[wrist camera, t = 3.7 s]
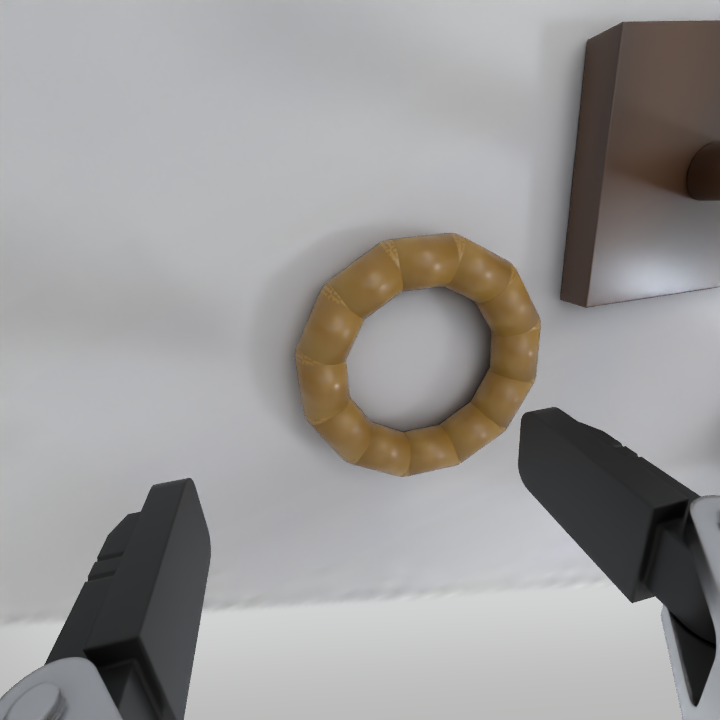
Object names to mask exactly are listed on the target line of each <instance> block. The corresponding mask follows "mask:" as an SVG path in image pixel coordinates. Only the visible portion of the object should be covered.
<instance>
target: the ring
mask: <svg viewBox="0 0 720 720" xmlns="http://www.w3.org/2000/svg"><path fill="white" fill-rule="evenodd" d="M439 286H444V287H446V288H448V289H450V290H452V291H454V292H457V293H459V294H461V295H463V296H465V297H467V298H469V299H471V300H473V301H475V302H476V304H477V306H478V308H479V309H480V311H481V313H482V315H483V316H484V318H485V320H486V322H487V324H488V325H489V327H490V329H491V355H490V368H489V370H488V372H487V373H486V375H485V377H484V379H483V381H482V382H481V384H480V386H479V388H478V389H477V391H476V393H475V395H474V397H473V398H472V400H471V402H469V403H468V404H467V405H465V406H464V407H463V408H461V409H460V410H458V411H457V412H456V413H454V414H453V415H452V416H450V417H449V418H448V419H446V420H445V421H443V422H442V423H441V424H439V425H436V426H431V427H425V428H420V429H415V430H410V431H405V432H401V431H398V430H395V429H391V428H388V427H385V426H382V425H379V424H375V423H372V422H370V421H369V419H368V418H367V417H366V416H365V415H364V413H363V412H362V411H361V410H360V409H359V407H358V406H357V405H356V404H355V403H354V401H353V400H352V399H351V398H350V395H349V386H348V376H347V366H346V358H347V356H348V354H349V352H350V350H351V347H352V345H353V343H354V341H355V339H356V337H357V334H358V332H359V330H360V328H361V326H362V324H363V321H364V320H365V319H366V318H367V317H368V316H370V315H371V314H372V313H374V312H375V311H376V310H378V309H379V308H380V307H382V306H383V305H384V304H386V303H387V302H388V301H390V300H391V299H392V298H394V297H395V296H396V295H398V294H399V293H400V292H402V291H410V290H417V289H425V288H432V287H439ZM540 327H541V321H540V317H539V315H538V313H537V311H536V309H535V306H534V304H533V302H532V300H531V298H530V296H529V294H528V292H527V290H526V288H525V286H524V284H523V282H522V280H521V278H520V276H519V274H518V272H517V270H516V268H515V267H514V266H513V265H512V264H511V263H510V262H509V261H507V260H505V259H503V258H502V257H500V256H498V255H496V254H494V253H492V252H490V251H489V250H487V249H485V248H483V247H481V246H479V245H477V244H476V243H474V242H472V241H470V240H468V239H466V238H464V237H462V236H460V235H458V234H454V233H444V234H435V235H426V236H417V237H408V238H399V239H390V240H385V241H382V242H380V243H379V244H377V245H376V246H374V247H373V248H372V249H370V250H369V251H368V252H366V253H365V254H364V255H362V256H361V257H360V258H359V259H357V260H356V261H355V262H353V263H352V264H351V265H349V266H348V267H347V268H345V269H344V270H343V271H341V272H340V273H339V274H337V275H336V276H335V277H334V278H332V279H331V280H330V281H328V282H327V283H326V284H325V285H324V286H323V287H322V289H321V291H320V293H319V295H318V298H317V300H316V303H315V305H314V307H313V310H312V312H311V314H310V317H309V319H308V321H307V324H306V326H305V328H304V331H303V333H302V336H301V338H300V340H299V343H298V345H297V348H296V352H295V360H296V367H297V373H298V380H299V386H300V393H301V399H302V405H303V411H304V415H305V417H306V419H307V421H308V422H309V423H310V424H311V425H312V427H313V428H314V429H315V430H316V431H317V432H318V433H319V434H320V435H321V436H322V437H323V438H324V439H325V441H326V442H327V443H328V444H329V445H330V446H331V447H332V448H333V449H334V450H335V451H336V452H337V453H338V455H339V456H340V457H341V458H342V459H343V460H345V461H346V462H348V463H350V464H354V465H357V466H361V467H365V468H369V469H372V470H376V471H380V472H384V473H387V474H391V475H395V476H400V477H405V476H411V475H415V474H420V473H424V472H429V471H433V470H438V469H443V468H447V467H452V466H456V465H458V464H460V463H462V462H463V461H465V460H466V459H467V458H469V457H470V456H471V455H473V454H474V453H476V452H477V451H478V450H480V449H481V448H482V447H484V446H485V445H487V444H488V443H489V442H491V441H492V440H493V439H495V438H496V437H498V436H499V435H500V434H502V433H503V432H504V431H505V430H506V429H507V427H508V426H509V424H510V422H511V421H512V419H513V417H514V416H515V414H516V412H517V411H518V409H519V407H520V406H521V404H522V402H523V400H524V399H525V397H526V395H527V394H528V392H529V390H530V389H531V387H532V385H533V384H534V382H535V379H536V372H537V361H538V350H539V338H540Z"/></svg>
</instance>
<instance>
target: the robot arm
mask: <svg viewBox="0 0 720 720" xmlns="http://www.w3.org/2000/svg"><path fill="white" fill-rule="evenodd" d="M518 469H519V473H520V476H521V479H522V481H523V483H524V485H525V487H526V488H527V489H528V490H529V491H530V493H531V494H532V495H533V496H534V497H535V498H536V499H537V500H538V501H539V502H540V503H541V505H542V506H543V507H544V508H545V509H546V510H547V511H548V512H549V513H550V514H551V515H552V517H553V518H554V519H555V520H556V521H557V522H558V523H559V524H560V525H561V526H562V527H563V529H564V530H565V531H566V532H567V533H568V534H569V535H570V536H571V537H572V538H573V539H574V541H575V542H576V543H577V544H578V545H579V546H580V547H581V548H582V549H583V550H584V551H585V553H586V554H587V555H588V556H589V557H590V558H591V559H592V560H593V561H594V562H595V563H596V565H597V566H598V567H599V568H600V569H601V570H602V571H603V572H604V573H605V574H606V575H607V577H608V578H609V579H610V580H611V581H612V582H613V583H614V584H615V585H616V586H617V587H618V589H619V590H621V592H622V593H623V594H624V595H625V596H626V597H627V598H628V599H629V601H630V602H632V603H634V602H637V601H641V600H644V599H647V598H651V597H654V596H656V597H657V598H658V599H659V600H660V601H661V602H662V603H663V608H662V612H661V619H662V624H663V629H664V634H665V638H666V643H667V647H668V652H669V657H670V662H671V666H672V671H673V675H674V680H675V685H676V690H677V694H678V699H679V704H680V708H681V713H682V719H683V720H720V496H716V495H711V496H703V497H701V496H699V495H698V494H696V493H695V492H693V491H692V490H690V489H689V488H687V487H686V486H684V485H683V484H681V483H680V482H678V481H677V480H675V479H674V478H672V477H671V476H669V475H668V474H666V473H665V472H663V471H662V470H660V469H659V468H657V467H656V466H654V465H653V464H651V463H650V462H648V461H647V460H645V459H644V458H642V457H638V456H637V454H636V453H635V452H633V451H632V450H630V449H629V448H627V447H626V446H624V447H623V446H622V444H621V443H620V442H618V441H617V440H615V439H614V438H612V437H611V436H609V435H608V434H606V433H605V432H603V431H601V430H599V429H596V428H593V427H591V426H588V425H586V424H583V423H581V422H578V421H576V420H575V419H573V418H572V417H570V416H569V415H568V414H566V413H565V412H563V411H562V410H560V409H559V408H556V407H551V408H546V409H541V410H536V411H531V412H526V413H525V414H524V415H523V416H522V419H521V428H520V443H519V458H518ZM210 557H211V545H210V536H209V531H208V528H207V524H206V521H205V518H204V514H203V511H202V508H201V504H200V501H199V498H198V494H197V491H196V487H195V484H194V482H193V480H192V479H191V478H186V479H181V480H176V481H171V482H166V483H161V484H156V485H153V486H152V487H151V489H150V491H149V494H148V496H147V499H146V501H145V503H144V506H143V508H142V510H141V512H137V513H132V514H128V515H127V516H126V517H125V518H124V519H123V520H122V521H121V522H120V523H119V524H118V526H117V527H116V528H115V529H114V530H113V531H112V532H111V533H110V534H109V535H108V537H107V539H106V541H105V543H104V545H103V547H102V549H101V551H100V553H99V555H98V557H97V559H98V560H97V562H95V563H94V565H93V567H92V569H91V571H90V573H89V575H88V582H85V584H84V586H83V588H82V590H81V592H80V594H79V596H78V598H77V600H76V602H75V604H74V606H73V608H72V610H71V612H70V614H69V616H68V618H67V620H66V622H65V624H64V626H63V628H62V630H61V633H60V635H59V637H58V638H57V641H56V643H55V645H54V647H53V649H52V651H51V653H50V655H49V657H48V659H47V661H46V663H45V665H44V666H43V667H41V668H39V669H37V670H35V671H34V672H32V673H31V674H29V675H27V676H26V677H24V678H23V679H22V680H21V681H19V682H18V683H17V684H15V685H14V686H13V687H12V688H11V689H10V690H9V691H8V692H6V693H5V694H4V695H3V696H2V697H1V698H0V720H184V714H185V708H186V702H187V696H188V690H189V683H190V677H191V672H192V666H193V660H194V654H195V648H196V642H197V637H198V630H199V625H200V618H201V613H202V607H203V601H204V595H205V589H206V583H207V577H208V571H209V565H210Z"/></svg>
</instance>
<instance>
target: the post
mask: <svg viewBox="0 0 720 720" xmlns="http://www.w3.org/2000/svg"><path fill="white" fill-rule="evenodd" d="M716 287H720V21H649V22H622V23H620V24H618V25H616V26H614V27H612V28H610V29H608V30H606V31H604V32H602V33H600V34H599V35H597V36H595V37H593V38H591V39H589V40H588V42H587V51H586V61H585V70H584V80H583V90H582V99H581V109H580V118H579V128H578V137H577V147H576V156H575V166H574V175H573V185H572V195H571V204H570V214H569V223H568V233H567V242H566V252H565V261H564V271H563V280H562V290H561V300H563V301H566V302H570V303H573V304H576V305H579V306H582V307H585V308H587V307H594V306H600V305H607V304H613V303H620V302H626V301H632V300H639V299H645V298H652V297H658V296H665V295H671V294H678V293H684V292H691V291H697V290H704V289H710V288H716Z"/></svg>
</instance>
